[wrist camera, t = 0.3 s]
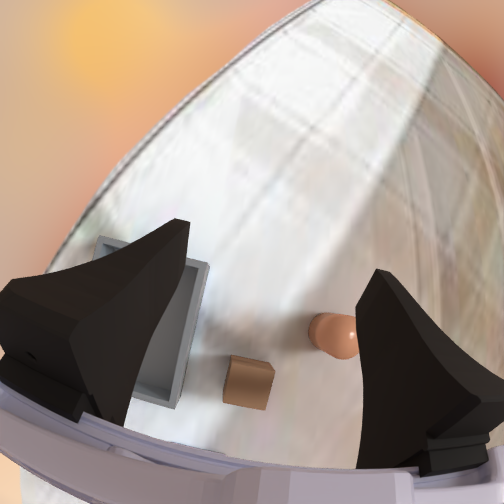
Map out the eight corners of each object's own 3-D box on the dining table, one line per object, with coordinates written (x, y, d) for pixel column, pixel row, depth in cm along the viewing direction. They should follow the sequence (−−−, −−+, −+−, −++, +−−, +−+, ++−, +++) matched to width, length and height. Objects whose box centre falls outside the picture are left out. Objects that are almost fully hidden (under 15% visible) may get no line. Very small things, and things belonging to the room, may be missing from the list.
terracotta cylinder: (339, 352, 40) (359, 362, 33) (304, 346, 39) (319, 356, 32) (347, 316, 40) (369, 319, 33) (313, 309, 40) (330, 311, 33)
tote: (180, 396, 37) (174, 409, 32) (87, 366, 36) (71, 374, 32) (209, 266, 40) (207, 262, 35) (112, 241, 39) (98, 234, 34)
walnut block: (260, 397, 38) (265, 410, 33) (223, 390, 38) (222, 402, 33) (269, 362, 39) (275, 371, 34) (231, 354, 39) (232, 362, 34)
